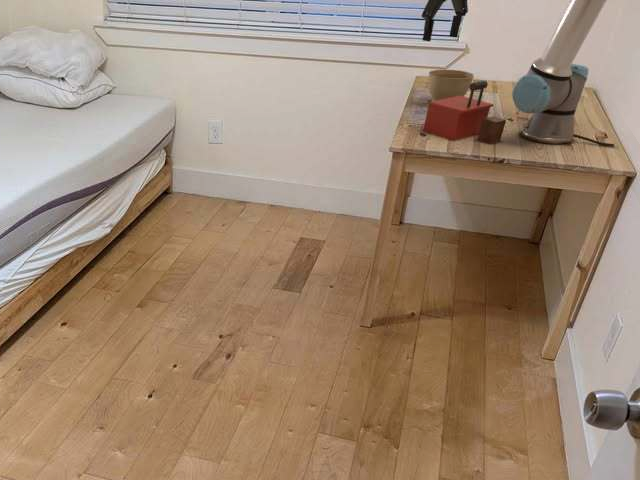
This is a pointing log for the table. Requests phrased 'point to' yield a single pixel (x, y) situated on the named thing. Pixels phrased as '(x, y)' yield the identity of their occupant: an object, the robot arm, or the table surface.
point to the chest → (454, 122)
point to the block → (491, 130)
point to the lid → (465, 100)
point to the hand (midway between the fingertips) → (439, 39)
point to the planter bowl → (448, 83)
